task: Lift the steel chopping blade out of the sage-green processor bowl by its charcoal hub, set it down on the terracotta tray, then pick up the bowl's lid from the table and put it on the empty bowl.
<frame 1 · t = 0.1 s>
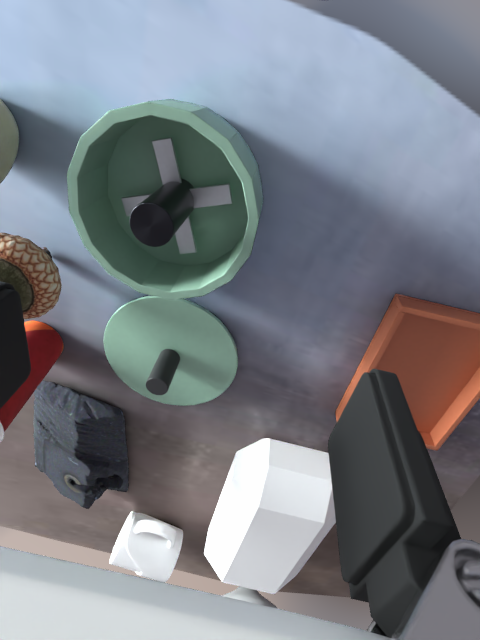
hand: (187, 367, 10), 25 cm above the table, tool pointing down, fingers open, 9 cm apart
tray: (415, 371, 40), on the table
dark slate chunk: (86, 437, 54), on the table
lid: (171, 354, 42), point 1 cm above the table
mug: (157, 517, 64), on the table
crystal: (270, 485, 55), on the table
chalice: (250, 556, 67), on the table
acorn: (49, 252, 38), on the table
bowl: (181, 195, 33), on the table
blade: (167, 209, 29), in the bowl
paper cup: (42, 339, 44), on the table
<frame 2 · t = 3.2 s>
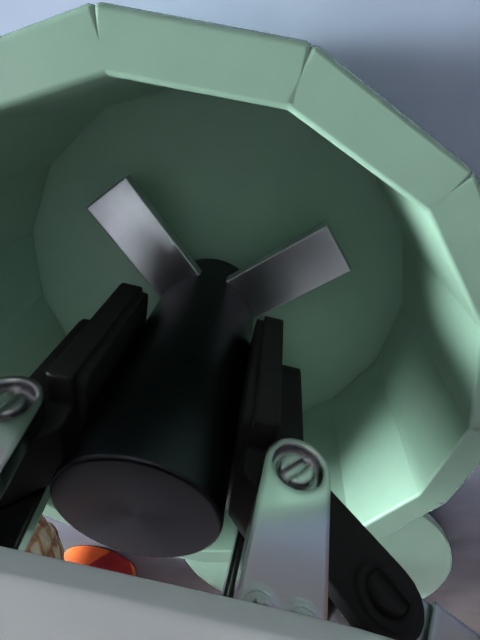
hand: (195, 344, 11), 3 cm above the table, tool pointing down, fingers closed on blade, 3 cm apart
lid: (308, 553, 22), point 1 cm above the table
acorn: (44, 459, 21), on the table
bowl: (214, 292, 14), on the table
blade: (186, 370, 10), in the bowl, touching gripper
paper cup: (101, 562, 28), on the table
when the fingers open (3 cm above the table, at t = 10.6 s): blade stays where it is, resting on tray.
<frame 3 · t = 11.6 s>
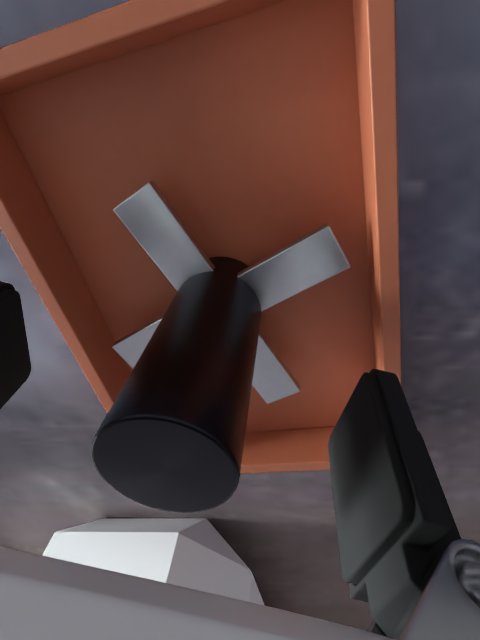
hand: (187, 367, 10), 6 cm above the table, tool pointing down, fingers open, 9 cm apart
tray: (225, 285, 15), on the table
crystal: (193, 586, 30), on the table
blade: (202, 355, 11), in the tray
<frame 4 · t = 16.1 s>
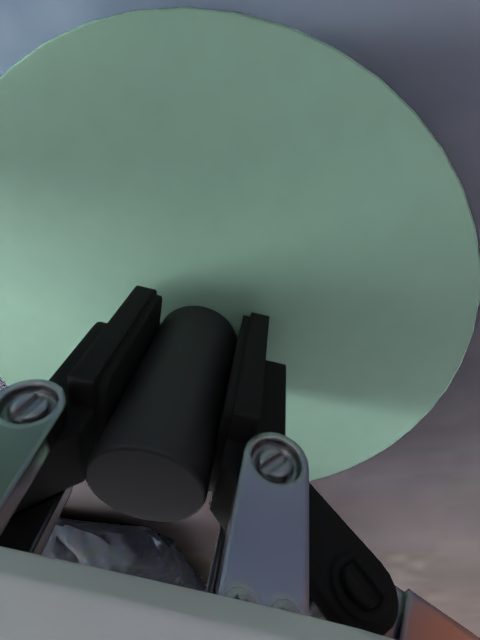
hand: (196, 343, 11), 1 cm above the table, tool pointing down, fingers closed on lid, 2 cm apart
dark slate chunk: (134, 585, 25), on the table
lid: (201, 329, 12), point 1 cm above the table, touching gripper
when the fingers open (7 cm above the table, at t = 22.6 s): lid stays where it is, resting on bowl.
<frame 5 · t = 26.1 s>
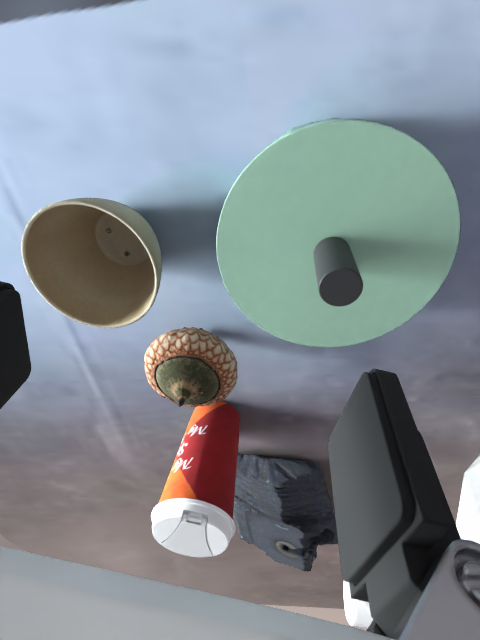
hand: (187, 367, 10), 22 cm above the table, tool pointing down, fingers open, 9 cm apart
dark slate chunk: (282, 497, 51), on the table
flower pot: (127, 236, 32), on the table
lid: (331, 250, 25), point 6 cm above the table, touching bowl
mug: (377, 562, 57), on the table
acorn: (204, 331, 37), on the table
paper cup: (216, 415, 44), on the table
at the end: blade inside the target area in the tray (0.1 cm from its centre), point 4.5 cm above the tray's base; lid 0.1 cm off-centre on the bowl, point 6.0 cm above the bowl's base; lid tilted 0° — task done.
